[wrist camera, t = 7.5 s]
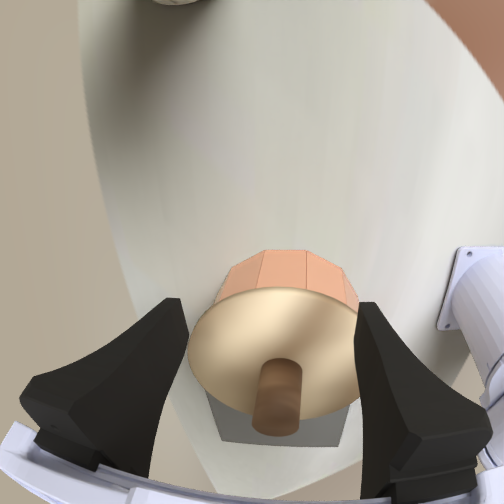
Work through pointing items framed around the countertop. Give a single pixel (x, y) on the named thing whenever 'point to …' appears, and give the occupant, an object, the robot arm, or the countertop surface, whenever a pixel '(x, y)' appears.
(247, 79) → the countertop surface
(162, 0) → the spray can
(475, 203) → the countertop surface
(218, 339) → the lid
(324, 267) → the bowl
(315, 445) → the mat
